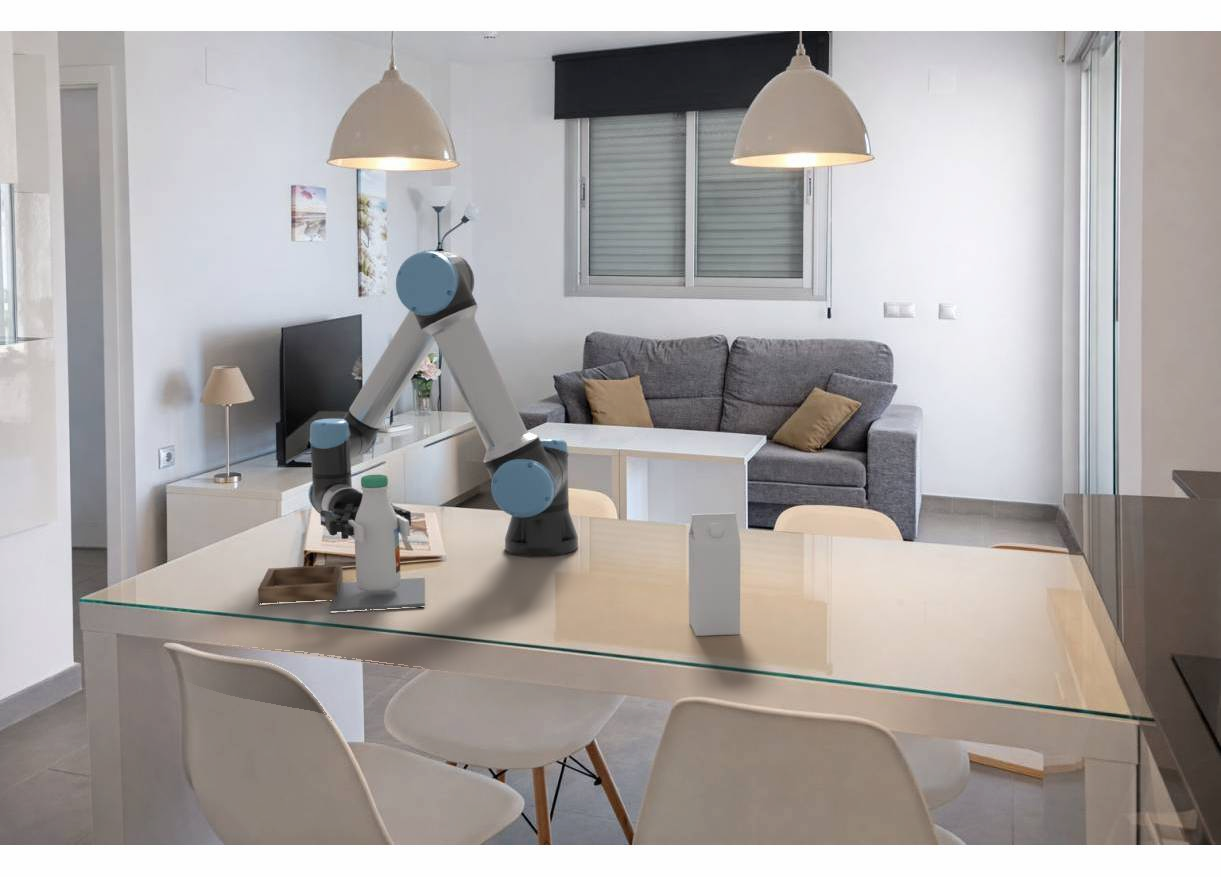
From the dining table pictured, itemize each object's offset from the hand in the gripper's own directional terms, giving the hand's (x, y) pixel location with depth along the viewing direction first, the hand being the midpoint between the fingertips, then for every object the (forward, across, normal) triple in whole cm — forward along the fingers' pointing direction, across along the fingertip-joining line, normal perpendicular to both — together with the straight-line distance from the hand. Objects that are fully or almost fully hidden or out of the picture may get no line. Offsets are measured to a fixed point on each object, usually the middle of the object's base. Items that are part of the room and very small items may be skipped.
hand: (384, 531), depth 192 cm
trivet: (-5, 0, -13) cm, 14 cm away
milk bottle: (-5, 0, -11) cm, 12 cm away
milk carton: (+41, -41, -13) cm, 59 cm away
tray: (-15, +11, -13) cm, 23 cm away
